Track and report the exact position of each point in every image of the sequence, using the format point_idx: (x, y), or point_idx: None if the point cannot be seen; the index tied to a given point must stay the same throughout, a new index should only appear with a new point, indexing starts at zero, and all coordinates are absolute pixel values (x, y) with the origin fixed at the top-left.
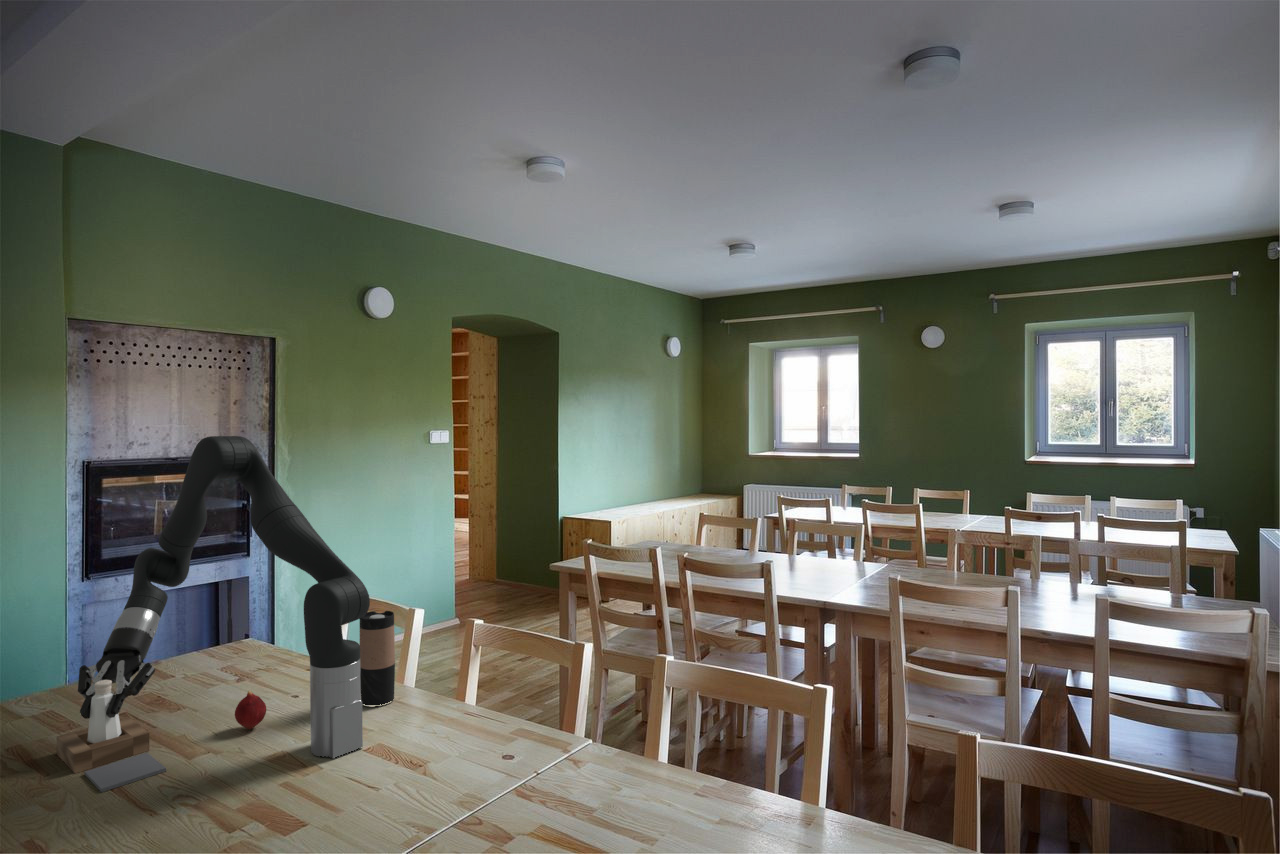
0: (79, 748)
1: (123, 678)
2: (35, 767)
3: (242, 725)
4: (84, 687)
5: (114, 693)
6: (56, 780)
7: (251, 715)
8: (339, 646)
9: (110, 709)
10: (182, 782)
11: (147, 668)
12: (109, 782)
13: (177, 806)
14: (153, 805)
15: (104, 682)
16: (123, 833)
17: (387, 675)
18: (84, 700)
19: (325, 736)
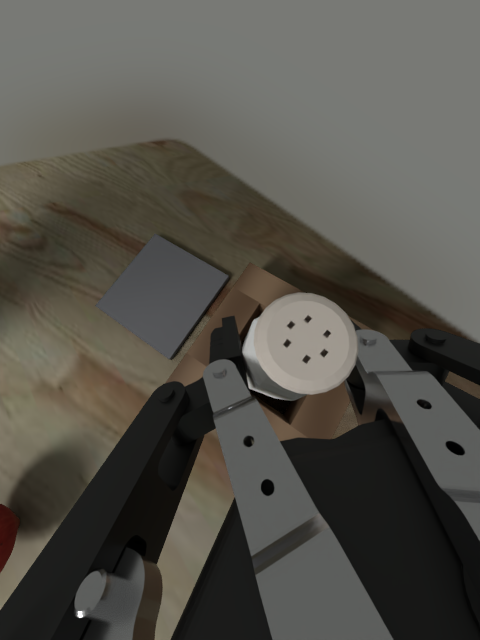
0: (264, 286)
1: (217, 432)
2: (345, 290)
3: (3, 505)
4: (432, 348)
5: (255, 379)
6: (260, 257)
7: None
8: None
9: (223, 322)
10: (54, 279)
11: (9, 613)
12: (156, 251)
13: (30, 224)
14: (63, 221)
15: (284, 327)
16: (65, 169)
17: None
18: (359, 327)
19: None
